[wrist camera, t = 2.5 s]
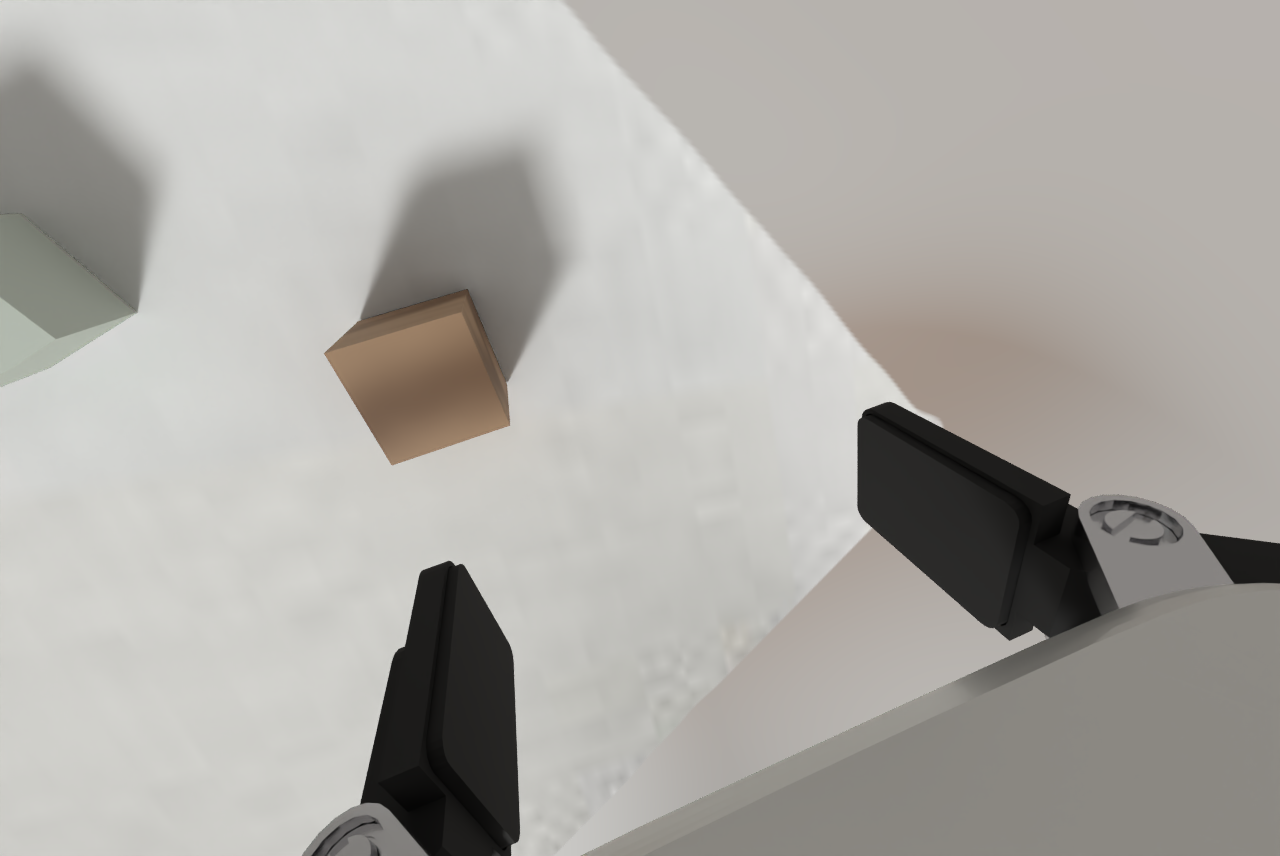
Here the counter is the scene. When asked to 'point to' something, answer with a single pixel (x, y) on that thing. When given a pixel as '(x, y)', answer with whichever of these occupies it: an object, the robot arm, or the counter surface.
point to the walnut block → (423, 376)
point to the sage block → (47, 302)
